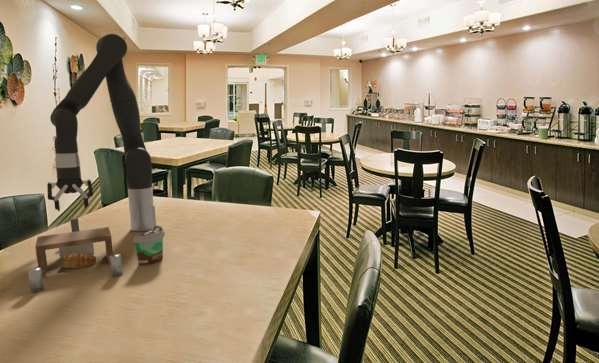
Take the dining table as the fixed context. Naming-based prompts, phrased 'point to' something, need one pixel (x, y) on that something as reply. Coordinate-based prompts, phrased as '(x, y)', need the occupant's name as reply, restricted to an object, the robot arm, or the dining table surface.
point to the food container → (150, 246)
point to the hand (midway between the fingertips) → (72, 209)
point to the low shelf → (71, 243)
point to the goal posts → (37, 280)
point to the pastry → (77, 260)
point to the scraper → (77, 248)
